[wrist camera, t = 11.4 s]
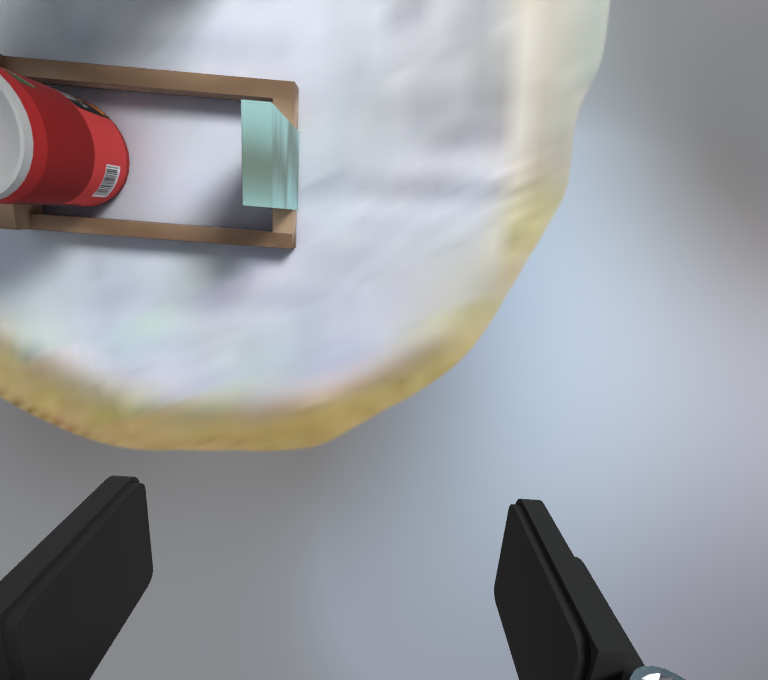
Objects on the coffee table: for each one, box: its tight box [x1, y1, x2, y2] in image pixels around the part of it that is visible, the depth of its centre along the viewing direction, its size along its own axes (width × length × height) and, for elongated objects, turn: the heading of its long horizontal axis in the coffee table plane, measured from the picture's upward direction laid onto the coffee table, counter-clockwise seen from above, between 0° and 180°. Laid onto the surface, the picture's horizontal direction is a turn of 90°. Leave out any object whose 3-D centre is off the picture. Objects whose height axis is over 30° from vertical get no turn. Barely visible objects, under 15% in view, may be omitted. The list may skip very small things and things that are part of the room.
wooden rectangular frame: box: [0, 54, 299, 249], centre depth 30 cm, size 12×23×9 cm, turn 86°
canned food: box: [0, 67, 129, 207], centre depth 29 cm, size 8×8×11 cm
